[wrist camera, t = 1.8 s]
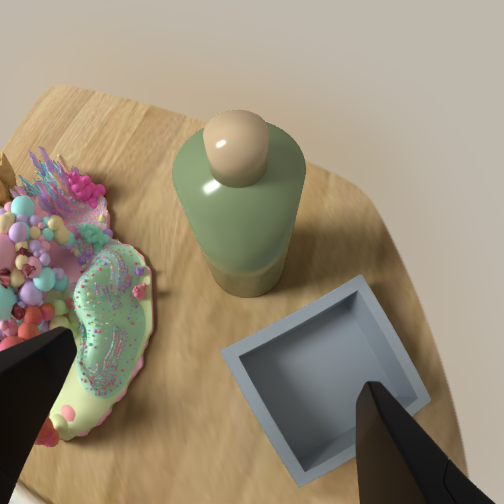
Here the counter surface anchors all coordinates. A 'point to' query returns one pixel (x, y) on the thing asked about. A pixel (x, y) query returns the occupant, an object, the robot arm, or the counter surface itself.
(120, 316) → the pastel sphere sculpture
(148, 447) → the counter surface
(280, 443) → the tub
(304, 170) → the bottle
